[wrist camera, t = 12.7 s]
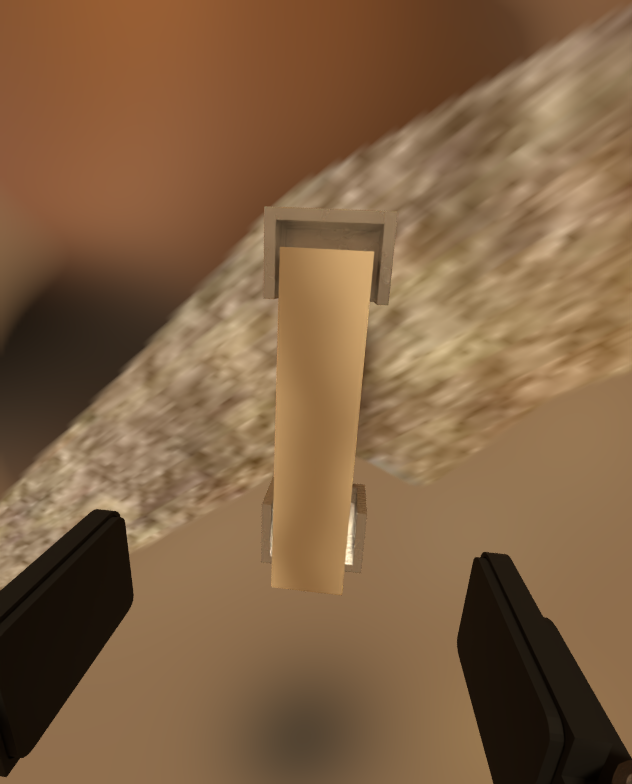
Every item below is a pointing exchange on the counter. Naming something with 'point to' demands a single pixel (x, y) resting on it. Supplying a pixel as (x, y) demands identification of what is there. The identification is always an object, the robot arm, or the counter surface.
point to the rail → (317, 412)
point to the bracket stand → (377, 236)
